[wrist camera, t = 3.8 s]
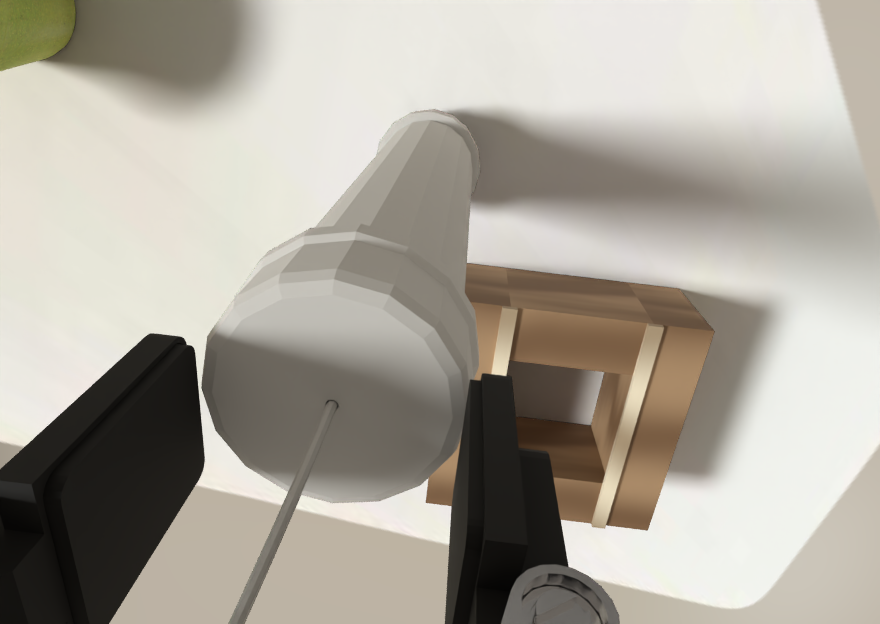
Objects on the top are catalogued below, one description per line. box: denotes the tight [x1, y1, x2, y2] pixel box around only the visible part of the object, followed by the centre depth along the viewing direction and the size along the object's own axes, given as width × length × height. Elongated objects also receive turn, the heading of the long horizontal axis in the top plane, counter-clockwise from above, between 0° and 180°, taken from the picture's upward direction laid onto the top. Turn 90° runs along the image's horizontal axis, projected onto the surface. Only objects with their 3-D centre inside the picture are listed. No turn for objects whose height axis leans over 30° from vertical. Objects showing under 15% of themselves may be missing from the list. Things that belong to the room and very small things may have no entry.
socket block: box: [426, 263, 715, 530], centre depth 36 cm, size 14×14×6 cm
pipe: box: [202, 109, 480, 624], centre depth 19 cm, size 6×6×30 cm
